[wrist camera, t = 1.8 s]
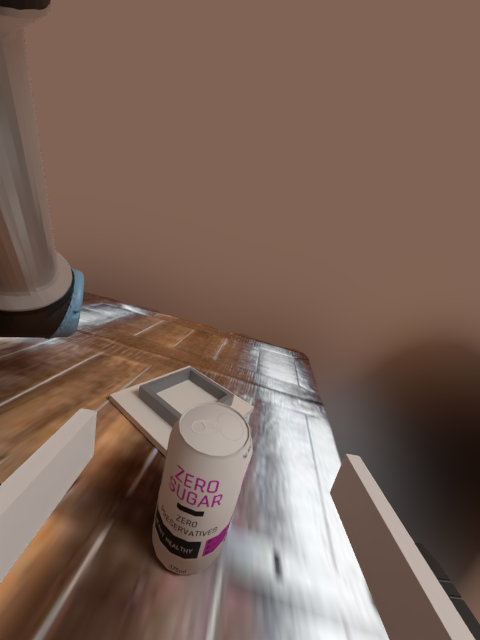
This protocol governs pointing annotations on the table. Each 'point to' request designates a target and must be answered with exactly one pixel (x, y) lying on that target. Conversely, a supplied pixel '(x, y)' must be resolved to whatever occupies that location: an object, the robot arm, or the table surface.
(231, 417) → the supplement can
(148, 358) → the table surface
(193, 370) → the socket board
